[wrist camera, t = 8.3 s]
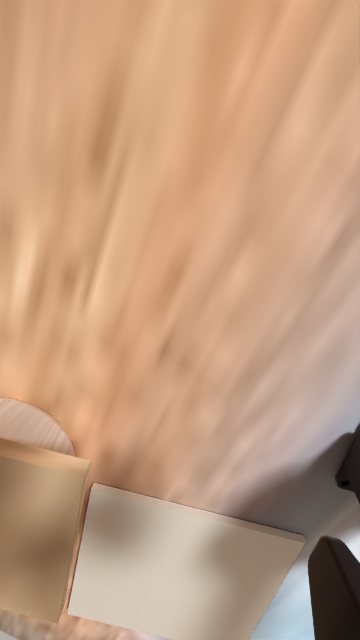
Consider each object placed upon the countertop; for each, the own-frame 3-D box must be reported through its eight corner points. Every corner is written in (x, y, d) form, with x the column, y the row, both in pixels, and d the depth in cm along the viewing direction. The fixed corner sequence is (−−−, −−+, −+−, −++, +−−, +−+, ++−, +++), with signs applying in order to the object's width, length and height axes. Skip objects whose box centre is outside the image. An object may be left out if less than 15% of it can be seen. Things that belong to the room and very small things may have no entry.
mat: (303, 535, 25) (305, 543, 24) (238, 647, 31) (238, 656, 31) (93, 482, 25) (91, 489, 24) (69, 606, 31) (67, 613, 30)
